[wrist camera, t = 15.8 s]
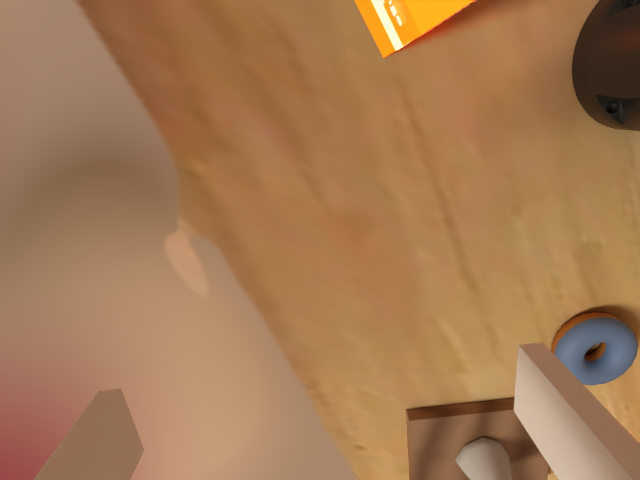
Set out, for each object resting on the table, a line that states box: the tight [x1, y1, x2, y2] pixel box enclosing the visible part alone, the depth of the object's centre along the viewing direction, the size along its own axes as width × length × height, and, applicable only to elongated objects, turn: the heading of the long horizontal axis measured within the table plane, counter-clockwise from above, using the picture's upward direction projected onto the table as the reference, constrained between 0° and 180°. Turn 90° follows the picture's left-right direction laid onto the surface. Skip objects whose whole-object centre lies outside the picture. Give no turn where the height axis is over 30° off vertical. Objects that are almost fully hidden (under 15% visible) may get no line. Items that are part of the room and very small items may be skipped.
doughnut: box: [551, 312, 638, 385], centre depth 49 cm, size 10×10×5 cm
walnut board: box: [406, 398, 549, 480], centre depth 55 cm, size 20×16×2 cm
